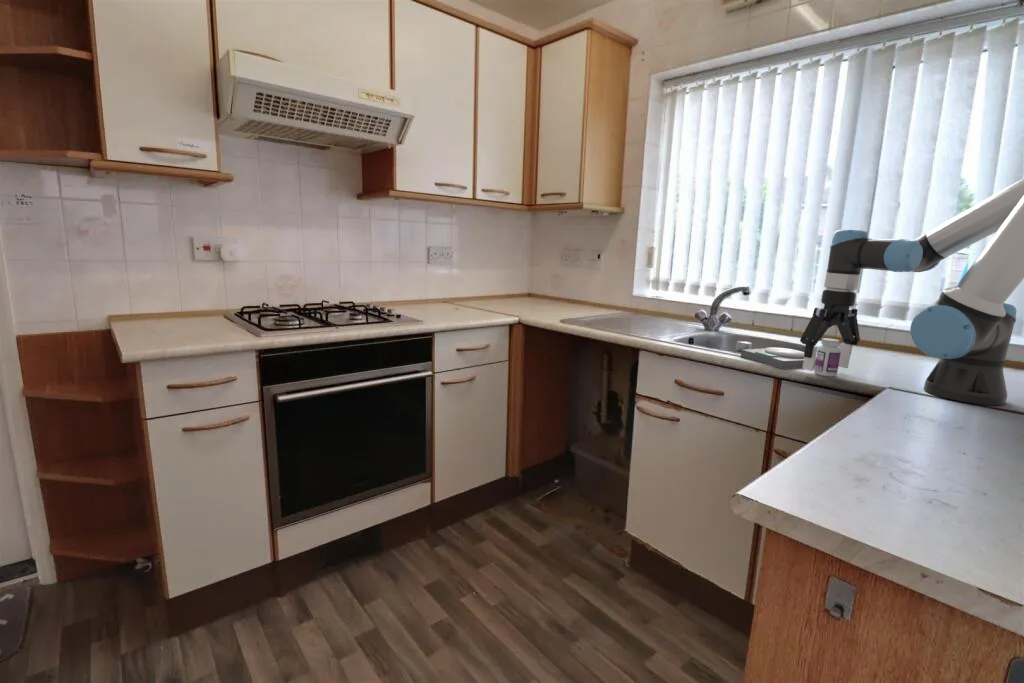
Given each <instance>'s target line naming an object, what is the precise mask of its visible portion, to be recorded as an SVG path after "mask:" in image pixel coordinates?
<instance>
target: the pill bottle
mask: <svg viewBox="0 0 1024 683" xmlns="http://www.w3.org/2000/svg"><path fill="white" fill-rule="evenodd" d="M821 339H822V340H821V345H819V346H817V347H818V348H817V354H816V363H815V367H814V370H813V372H814V373H815V374H816V375H820V376H823V377H832V376H833V377H837V375H838V370H839V360H840V354H841V350H840V347H838V346H839V345H840V340H839V339H836V338H835V339H834V338H824V337H823V338H821Z"/></svg>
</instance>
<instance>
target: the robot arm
mask: <svg viewBox="0 0 1024 683" xmlns="http://www.w3.org/2000/svg"><path fill="white" fill-rule="evenodd" d="M993 234H994V235H993ZM868 235H869V234H868V231H866V230H862V229H861V230H860V229H837V230H836V231H835V232H834V233H833V235H832V236H833V237H832V241H831V244H830V246H829V256H828V257H829V258H828V262H827V263H828V264H827V269H826V274H825V280H824V284H823V287H824V288H825V289H823V290H822V295H821V300H820V302H821V304H823V305H824V306H823V308H821V307H814V309H813V313H812V315H811V317H810V320H809V322H808V324H807V325H806V328H805V330H804V332H803V333H802V335H801V337H800V339H799V342H800V343H801V344H802V345H805V347H804V351H803V352H804V362H803V367H802V369H803V370H807V371H810V372H814V370H815V367H814V365H815V359H816V357H817V351H818V347H819V346H818V345H817V344H818V342H819V341H820V340H821V339H822V337H823V336H824V335H825V334H826V332H827V331H828V329H829V328H831V327H833V326H836V327H837V328H838V331H839V334H840V336H841V338H842V342H841V343H840V347H839V349H840V350H841V354H840V360H839V366H838V368H843V369H849V364H850V358H851V355H852V351H853V346H857V345H858V343H859V342H860V341H861V337H860V331H859V324H858V308H853V306H855V302H856V299H857V298H856V297H857V293H856V290H858V288H859V283H860V276H861V271H862V269H865V270H875V271H876V270H877V271H886V272H893V273H911V272H912V273H922V272H923V273H924V272H927V271H931V270H933V269H934V268H936V267H937V266H938V265H939V264H940V262H941V261H942V260H944V259H946V258H948V257H950V256H952V255H954V254H956V253H957V252H960V251H961V250H964V249H966V248H968V247H969V246H973V244H975V243H978V242H980V241H982V240H984V239H986V238H988V237H989V236H992V235H993V236H992V237H991V239H990V240H989V242H988V243H987V244H986V246H984V248H983V250H982V251H981V252H980V254H979V255H978V256H977V258H976V259H975V261H974V262H973V263H972V264H971V266H970V267H969V268H968V270H967V271H966V272H965V274H964V276H963V277H962V278H961V279H960V280H959V282H958V283H957V285H954V286H952V287H947V288H944V289H943V291H942V292H940V294H939V296H938V297H937V298H936V300H935V301H934V303H933V304H932V305H930V306H928V307H925V308H924V309H922V310H921V311H920V312H918V313H917V314H916V315H914V317H913V319H912V321H911V324H910V328H909V329H910V331H909V332H910V336H911V340H912V342H913V343H914V346H916V348H917V349H919V351H921V352H922V353H924V354H925V355H927V356H930V357H933V358H937V359H938V361H937V363H936V364H935V366H934V367H933V369H932V370H931V371H930V373H929V375H928V376H927V377H926V380H925V381H924V385H923V390H924V391H925V392H926V393H930V394H932V395H935V396H937V397H942V398H944V399H945V398H946V399H949V400H952V401H953V400H954V401H957V402H958V401H959V402H963V403H968V404H976V405H985V406H1003V405H1004V406H1005V405H1006V402H1007V398H1008V391H1007V385H1006V379H1005V375H1004V367H1005V362H1006V358H1007V355H1008V351H1009V346H1010V342H1011V339H1012V336H1013V335H1012V334H1013V330H1014V326H1015V323H1016V322H1017V308H1016V306H1014V305H1012V304H1009V303H1005V302H1007V300H1008V299H1009V298H1010V296H1011V295H1012V294H1013V292H1014V291H1015V290H1016V289H1017V288H1018V286H1019V285H1020V284H1021V283H1022V281H1023V280H1024V177H1023V178H1021V179H1020V180H1018V181H1016V182H1015V183H1012V184H1011V185H1009V186H1007V187H1006V188H1004V189H1002V190H1000V191H998V192H997V193H995V194H993V195H991V196H990V197H987V198H986V199H984V200H982V201H980V202H979V203H976V204H975V205H974V206H972V207H970V208H968V209H966V210H964V211H963V212H961V213H959V214H957V215H956V216H954V217H952V218H950V219H948V220H947V221H945V222H943V223H941V224H940V225H938V226H936V227H934V228H933V229H931V230H929V231H927V232H926V233H925V234H922V235H920V236H919V237H917V238H916V239H907V238H905V239H904V238H899V239H893V238H870V237H869V236H868Z"/></svg>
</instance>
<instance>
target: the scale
mask: <svg viewBox="0 0 1024 683" xmlns="http://www.w3.org/2000/svg"><path fill="white" fill-rule="evenodd" d="M804 352H805V351H803V350H802V351H801V350H797V349H794V348H793V349H792V348H785V347H773V346H772V347H765V348H751V349H744V350H742V351H741V352H740V358H744V359H747V360H751V361H754V362H757V363H762V364H765V365H768V366H771V367H776V368H779V369H782V370H783V369H798V368H799V369H800V368H802V367H803V362H804ZM815 363H816V359H815ZM814 368H815V365H814ZM802 369H803V368H802Z"/></svg>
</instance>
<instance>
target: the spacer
mask: <svg viewBox="0 0 1024 683" xmlns="http://www.w3.org/2000/svg"><path fill="white" fill-rule="evenodd" d="M752 347H753V343H752V341H751V342H750V341H745V340H743V341H742V340H737V341H736V347H735V348H736V349H735V352H739V353H741V351H742V350H744V349H752Z"/></svg>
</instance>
